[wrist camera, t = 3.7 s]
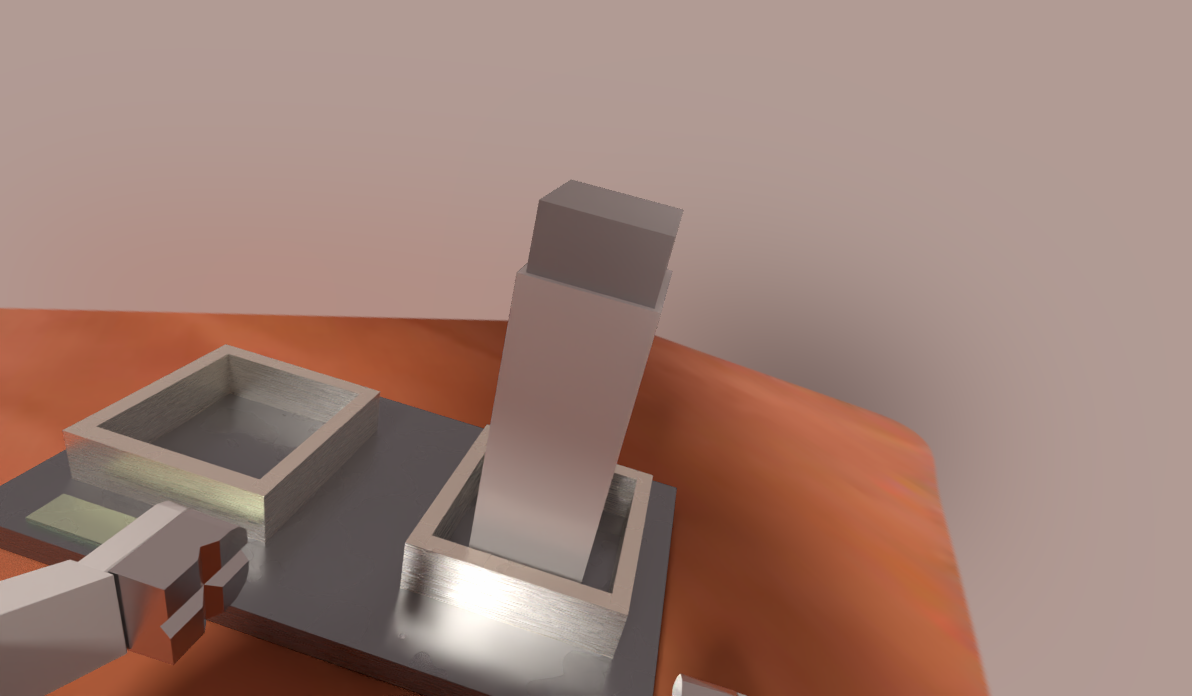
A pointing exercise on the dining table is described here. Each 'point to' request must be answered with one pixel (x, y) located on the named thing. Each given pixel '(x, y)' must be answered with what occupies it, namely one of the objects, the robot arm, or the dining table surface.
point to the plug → (571, 373)
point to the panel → (357, 531)
